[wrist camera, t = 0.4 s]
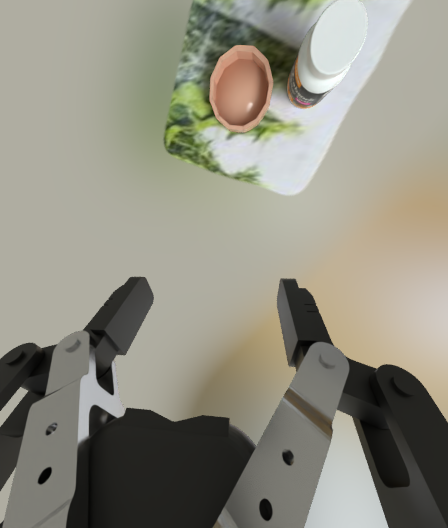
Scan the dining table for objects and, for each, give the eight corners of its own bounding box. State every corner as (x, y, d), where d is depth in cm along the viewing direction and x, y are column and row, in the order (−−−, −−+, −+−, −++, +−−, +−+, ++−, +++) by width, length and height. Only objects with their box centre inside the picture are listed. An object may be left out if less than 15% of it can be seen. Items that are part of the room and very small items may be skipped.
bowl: (215, 54, 24) (211, 43, 22) (277, 58, 23) (279, 47, 21) (212, 130, 28) (208, 127, 26) (264, 135, 28) (264, 132, 26)
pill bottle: (277, 91, 25) (289, 52, 16) (310, 40, 22) (345, -38, 14) (306, 119, 26) (331, 97, 17) (340, 74, 23) (390, 21, 15)
